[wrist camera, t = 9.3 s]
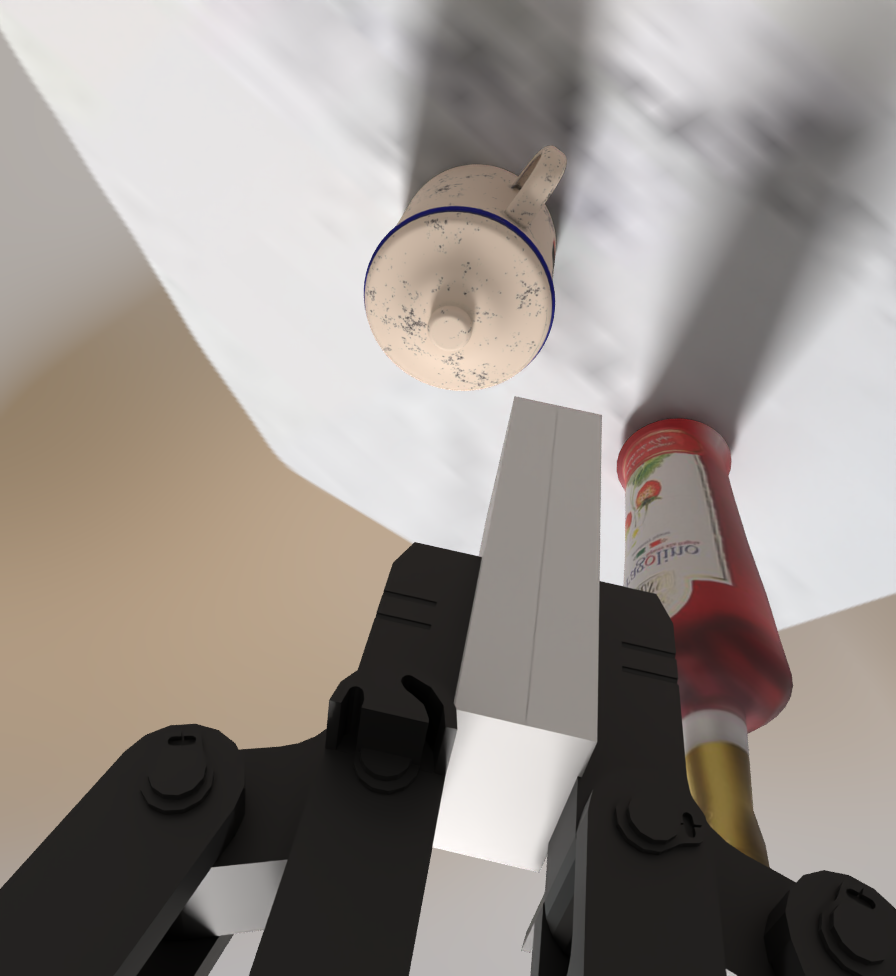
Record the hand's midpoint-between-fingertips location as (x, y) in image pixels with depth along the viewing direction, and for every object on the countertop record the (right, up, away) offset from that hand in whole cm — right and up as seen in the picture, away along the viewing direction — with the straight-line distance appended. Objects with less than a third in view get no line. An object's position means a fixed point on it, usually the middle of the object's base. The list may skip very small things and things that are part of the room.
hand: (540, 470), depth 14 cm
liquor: (+13, +2, +36) cm, 39 cm away
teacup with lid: (+1, +14, +29) cm, 33 cm away
